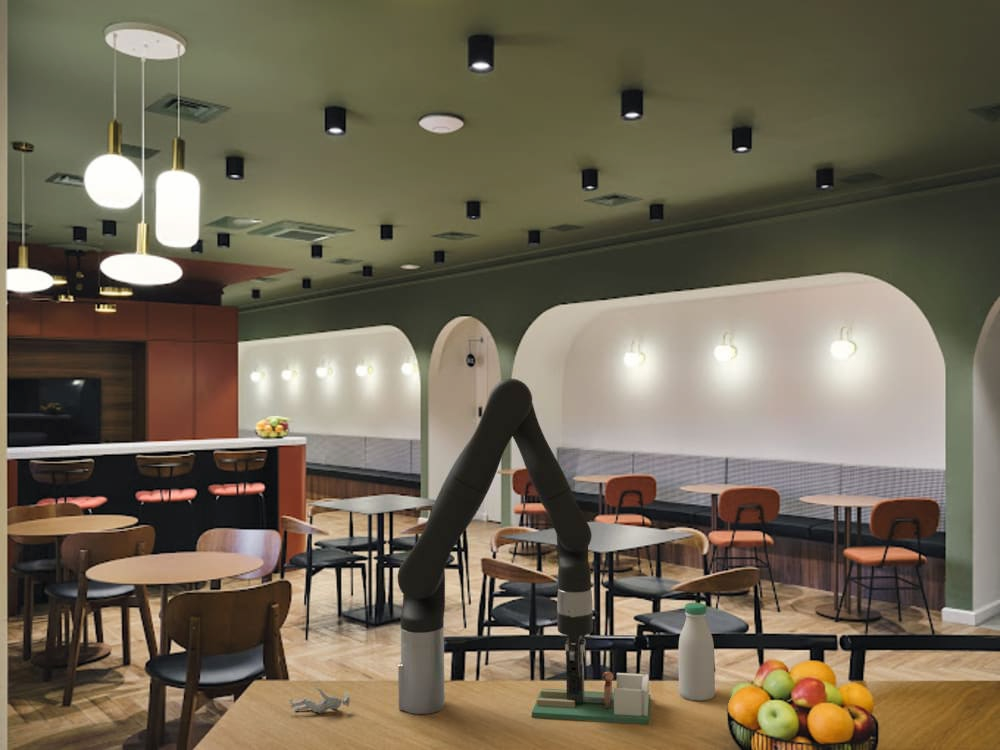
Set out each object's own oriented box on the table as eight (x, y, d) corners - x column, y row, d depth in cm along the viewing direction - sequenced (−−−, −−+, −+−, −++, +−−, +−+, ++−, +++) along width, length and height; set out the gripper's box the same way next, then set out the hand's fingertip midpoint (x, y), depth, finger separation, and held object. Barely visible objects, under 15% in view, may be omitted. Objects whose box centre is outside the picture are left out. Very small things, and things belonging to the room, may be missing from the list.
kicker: (566, 705, 184) (565, 667, 184) (569, 695, 190) (568, 658, 190) (612, 708, 182) (612, 670, 182) (614, 697, 188) (614, 660, 188)
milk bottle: (715, 702, 188) (714, 610, 188) (679, 700, 190) (677, 608, 190) (714, 690, 196) (712, 600, 196) (679, 688, 197) (677, 599, 197)
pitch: (531, 717, 181) (531, 706, 181) (541, 692, 195) (541, 683, 195) (648, 724, 177) (648, 713, 177) (650, 699, 191) (650, 689, 191)
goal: (614, 714, 180) (613, 689, 180) (617, 695, 190) (616, 672, 190) (647, 716, 179) (647, 691, 179) (648, 697, 189) (648, 674, 189)
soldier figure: (299, 710, 190) (351, 690, 191) (302, 731, 187) (355, 711, 187) (286, 694, 184) (340, 674, 185) (289, 716, 181) (344, 695, 182)
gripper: (561, 600, 194) (562, 677, 194) (553, 618, 180) (554, 700, 180) (595, 601, 193) (596, 679, 193) (589, 619, 179) (590, 703, 179)
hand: (575, 689), depth 187 cm, fingers open, 4 cm apart
